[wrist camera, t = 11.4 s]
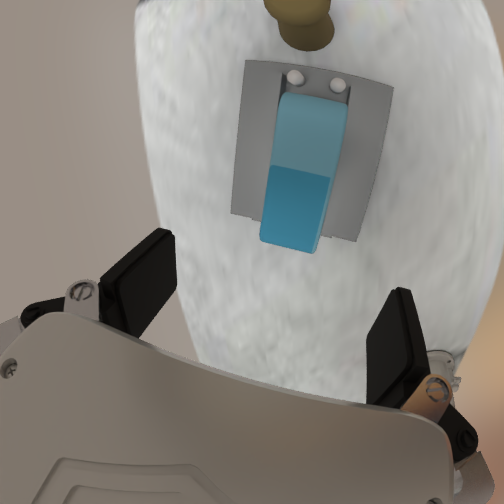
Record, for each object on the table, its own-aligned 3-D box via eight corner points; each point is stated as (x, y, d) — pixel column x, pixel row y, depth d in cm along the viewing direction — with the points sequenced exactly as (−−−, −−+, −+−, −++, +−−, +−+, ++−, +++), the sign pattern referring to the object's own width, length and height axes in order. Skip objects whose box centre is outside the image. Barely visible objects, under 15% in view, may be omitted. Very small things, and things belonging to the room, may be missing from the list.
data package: (298, 96, 25) (279, 90, 15) (340, 105, 24) (350, 104, 14) (281, 197, 31) (256, 248, 22) (319, 206, 31) (312, 262, 21)
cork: (345, 25, 20) (352, -12, 11) (313, 61, 23) (305, 37, 14) (298, -2, 19) (282, -46, 10) (268, 33, 22) (237, 2, 13)
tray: (391, 87, 22) (403, 84, 18) (355, 238, 32) (358, 259, 28) (248, 61, 25) (233, 54, 21) (233, 210, 35) (219, 227, 31)
